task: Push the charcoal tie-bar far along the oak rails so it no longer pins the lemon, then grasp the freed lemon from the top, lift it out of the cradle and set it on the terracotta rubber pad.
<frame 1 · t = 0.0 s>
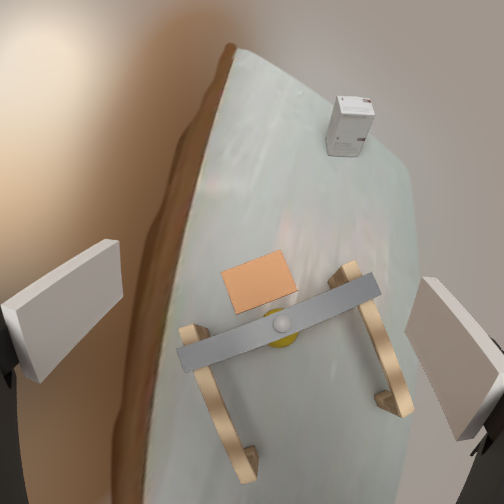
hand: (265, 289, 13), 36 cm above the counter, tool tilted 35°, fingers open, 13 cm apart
lemon: (278, 329, 47), on the counter
pad: (258, 281, 49), on the counter
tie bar: (281, 324, 36), point 12 cm above the counter, slide at 0.0 cm
cradle: (294, 371, 45), on the counter
skincare box: (341, 147, 56), on the counter
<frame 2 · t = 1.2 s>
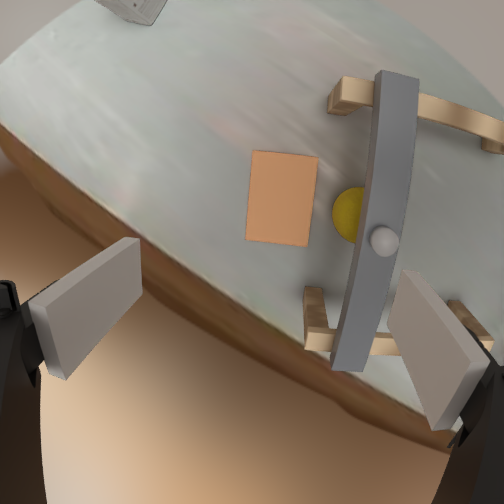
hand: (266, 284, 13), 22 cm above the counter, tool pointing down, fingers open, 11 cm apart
lemon: (352, 207, 34), on the counter
pad: (281, 198, 34), on the counter
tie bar: (380, 237, 23), point 12 cm above the counter, slide at 0.0 cm
cradle: (408, 216, 33), on the counter
skincare box: (149, 4, 28), on the counter
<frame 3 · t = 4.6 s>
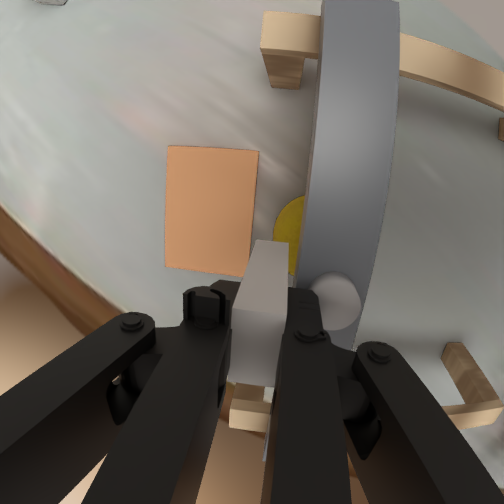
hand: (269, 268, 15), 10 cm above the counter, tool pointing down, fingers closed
lemon: (311, 222, 24), on the counter
pad: (208, 211, 25), on the counter
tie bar: (330, 289, 13), point 12 cm above the counter, slide at 0.0 cm, touching gripper
cradle: (395, 234, 24), on the counter
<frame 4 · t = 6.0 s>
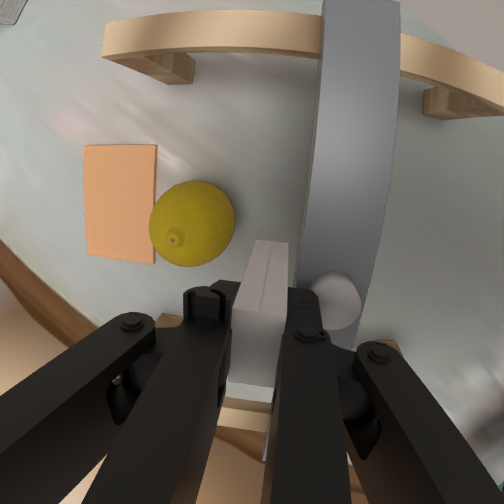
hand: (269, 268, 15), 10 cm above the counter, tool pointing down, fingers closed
lemon: (208, 210, 25), on the counter
pad: (118, 203, 25), on the counter
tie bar: (330, 289, 13), point 12 cm above the counter, slide at 8.2 cm, touching gripper
cradle: (297, 220, 24), on the counter
skincare box: (18, 2, 19), on the counter
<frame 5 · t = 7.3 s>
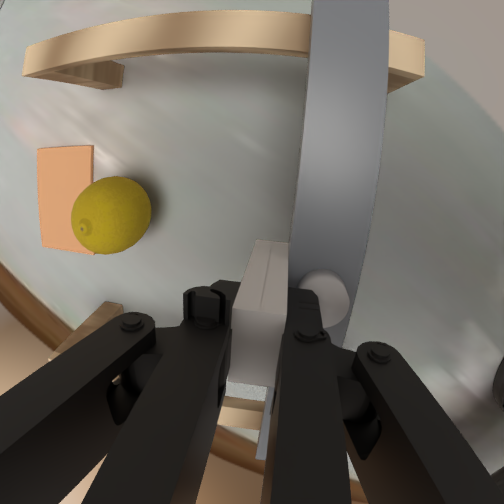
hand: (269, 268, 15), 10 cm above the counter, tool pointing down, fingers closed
lemon: (137, 203, 25), on the counter
pad: (64, 199, 26), on the counter
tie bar: (320, 287, 13), point 12 cm above the counter, slide at 14.0 cm, touching gripper
cradle: (216, 211, 25), on the counter
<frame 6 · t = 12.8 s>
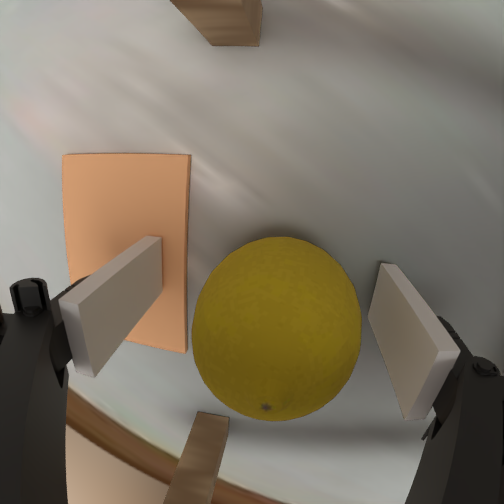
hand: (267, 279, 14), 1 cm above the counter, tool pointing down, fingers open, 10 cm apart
lemon: (283, 274, 14), on the counter
pad: (122, 254, 15), on the counter
cradle: (424, 292, 14), on the counter
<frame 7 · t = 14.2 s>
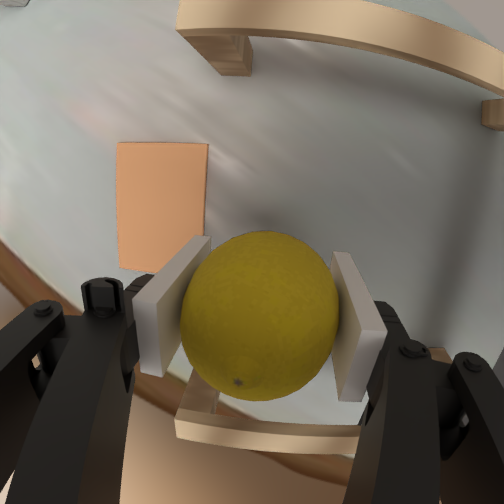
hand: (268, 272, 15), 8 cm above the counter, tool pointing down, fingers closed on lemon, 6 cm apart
lemon: (275, 269, 15), point 8 cm above the counter, touching gripper
pad: (159, 209, 23), on the counter
cradle: (362, 231, 22), on the counter
when the fingers open (2 cm above the counter, at t = 17.9 s): lemon stays where it is, resting on pad.
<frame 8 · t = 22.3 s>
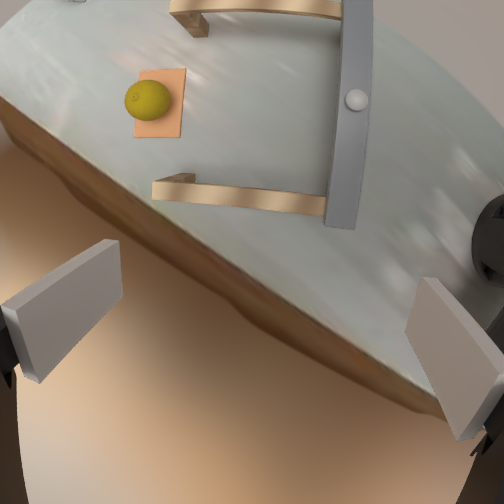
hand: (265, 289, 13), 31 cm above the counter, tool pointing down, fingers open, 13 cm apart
lemon: (160, 103, 39), resting on pad
pad: (159, 103, 39), on the counter
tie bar: (354, 101, 26), point 12 cm above the counter, slide at 16.1 cm
cradle: (267, 105, 38), on the counter
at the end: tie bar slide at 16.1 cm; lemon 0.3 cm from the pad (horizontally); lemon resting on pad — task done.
